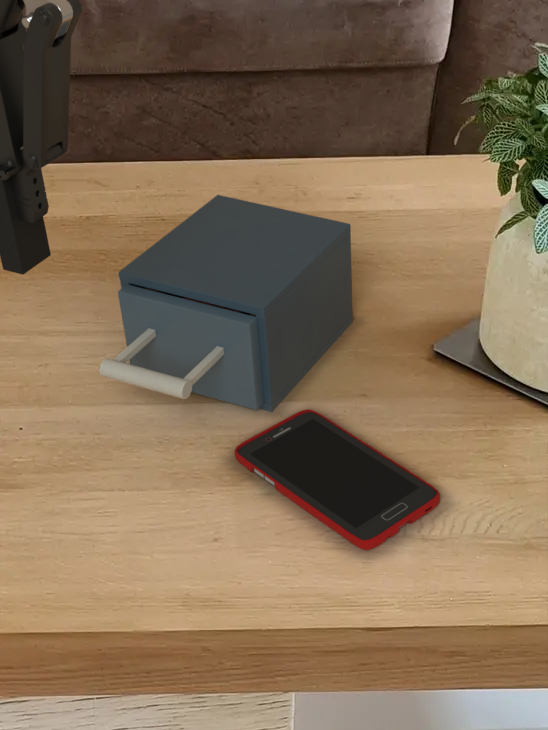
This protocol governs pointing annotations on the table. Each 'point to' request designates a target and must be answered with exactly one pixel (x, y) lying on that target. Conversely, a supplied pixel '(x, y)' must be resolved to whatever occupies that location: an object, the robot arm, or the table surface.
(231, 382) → the drawer
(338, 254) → the cabinet
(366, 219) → the table surface
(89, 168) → the table surface
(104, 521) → the table surface
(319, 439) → the cell phone
